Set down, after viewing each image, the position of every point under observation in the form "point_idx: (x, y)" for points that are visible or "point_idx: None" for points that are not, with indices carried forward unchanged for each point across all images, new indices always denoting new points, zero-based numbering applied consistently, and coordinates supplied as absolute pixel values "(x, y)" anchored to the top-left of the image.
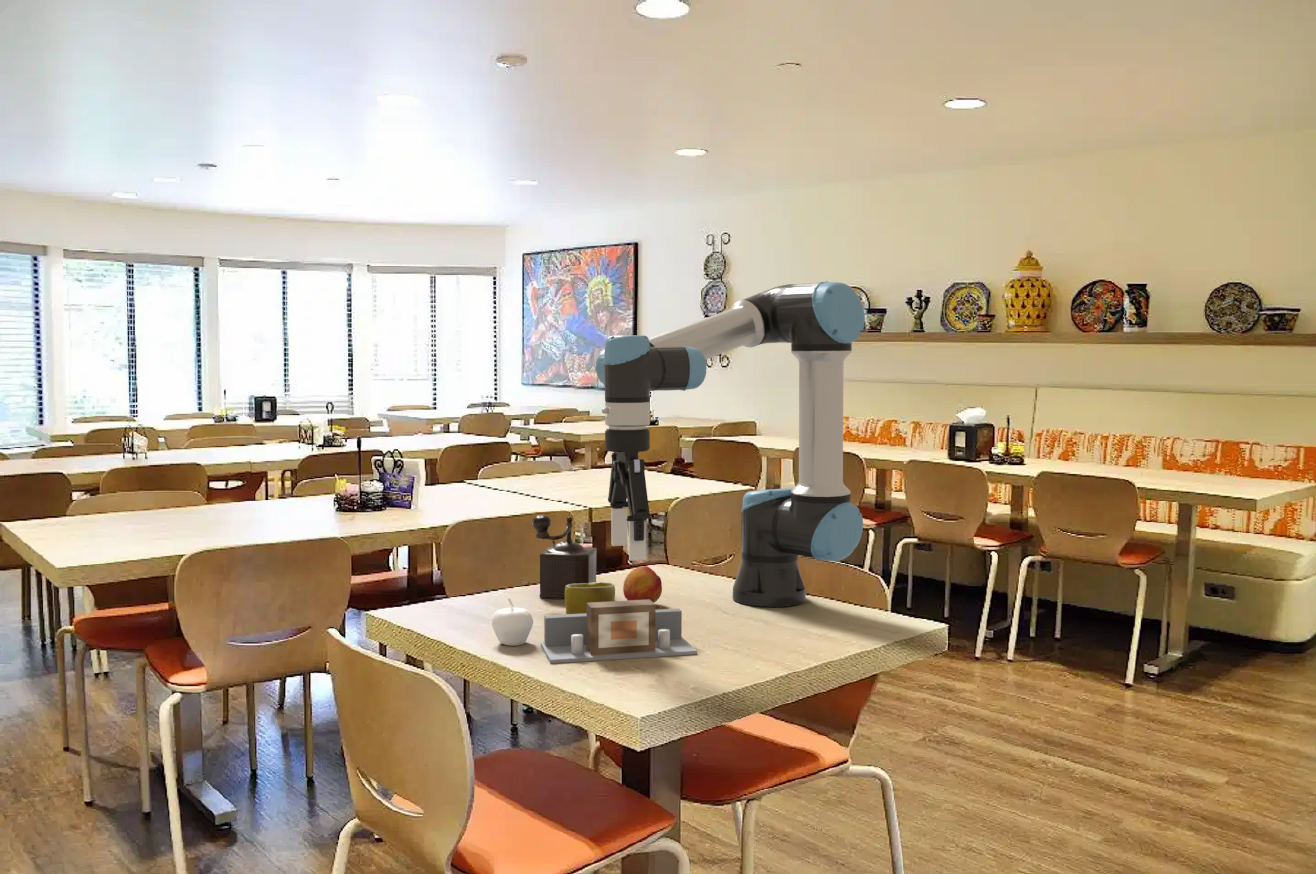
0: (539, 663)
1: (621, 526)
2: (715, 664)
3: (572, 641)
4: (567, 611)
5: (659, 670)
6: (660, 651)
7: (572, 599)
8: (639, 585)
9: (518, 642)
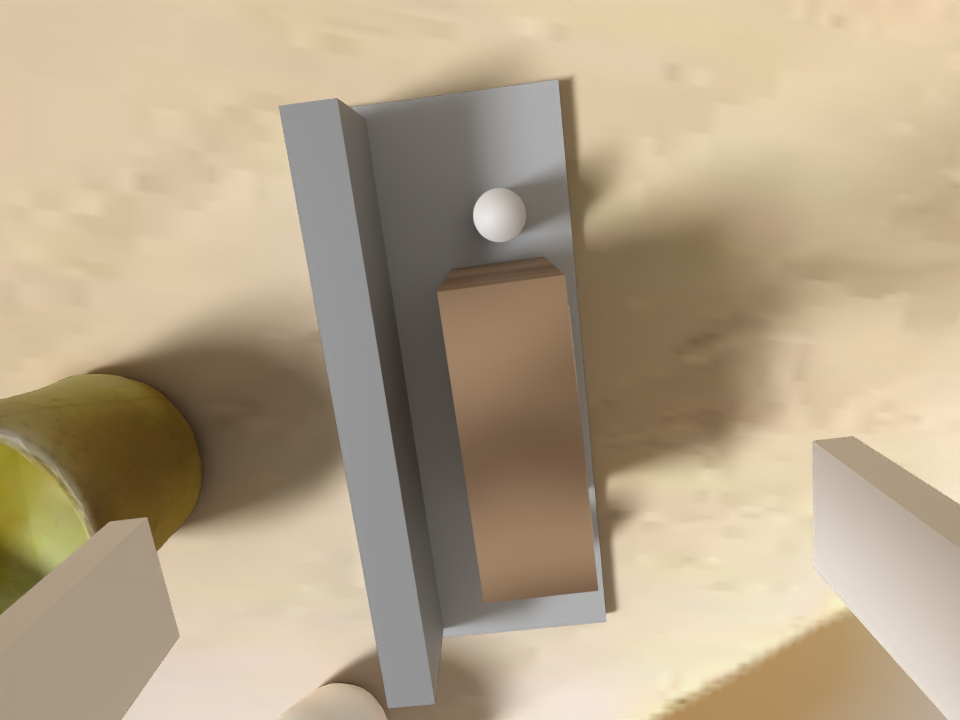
0: (595, 644)
1: (45, 689)
2: (712, 28)
3: None
4: None
5: (751, 266)
6: (550, 235)
7: None
8: None
9: (382, 709)
